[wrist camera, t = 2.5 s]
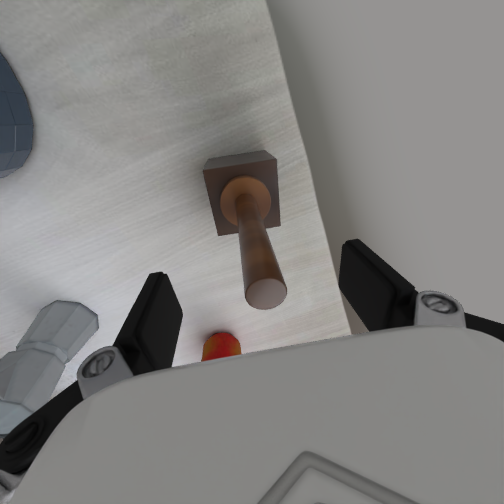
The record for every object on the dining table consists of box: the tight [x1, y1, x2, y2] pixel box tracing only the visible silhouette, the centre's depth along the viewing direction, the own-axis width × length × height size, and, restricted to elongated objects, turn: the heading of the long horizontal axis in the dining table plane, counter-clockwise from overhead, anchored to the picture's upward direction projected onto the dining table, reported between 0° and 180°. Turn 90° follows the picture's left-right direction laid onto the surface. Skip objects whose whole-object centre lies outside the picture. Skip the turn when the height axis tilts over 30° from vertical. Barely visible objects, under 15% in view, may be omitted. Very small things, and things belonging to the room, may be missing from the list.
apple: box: [201, 333, 241, 362], centre depth 38 cm, size 9×8×12 cm
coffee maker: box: [0, 301, 99, 440], centre depth 30 cm, size 15×9×18 cm, turn 164°
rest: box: [203, 150, 281, 236], centre depth 25 cm, size 7×7×7 cm
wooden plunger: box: [220, 175, 287, 310], centre depth 16 cm, size 5×5×14 cm
